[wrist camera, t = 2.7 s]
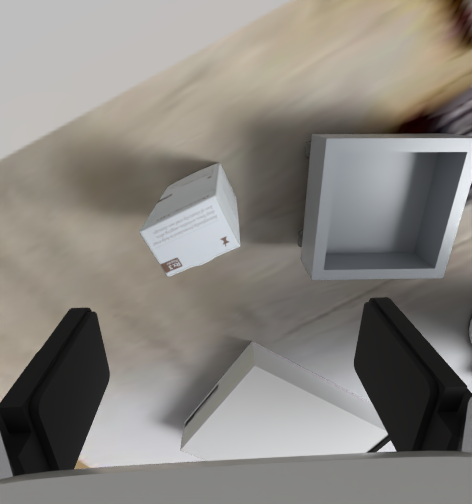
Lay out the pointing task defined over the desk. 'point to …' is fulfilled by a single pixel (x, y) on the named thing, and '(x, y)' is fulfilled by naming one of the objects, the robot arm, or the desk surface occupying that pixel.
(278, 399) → the disc drive
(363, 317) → the robot arm
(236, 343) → the desk surface
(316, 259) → the grey square tray
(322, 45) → the desk surface
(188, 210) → the skincare box
